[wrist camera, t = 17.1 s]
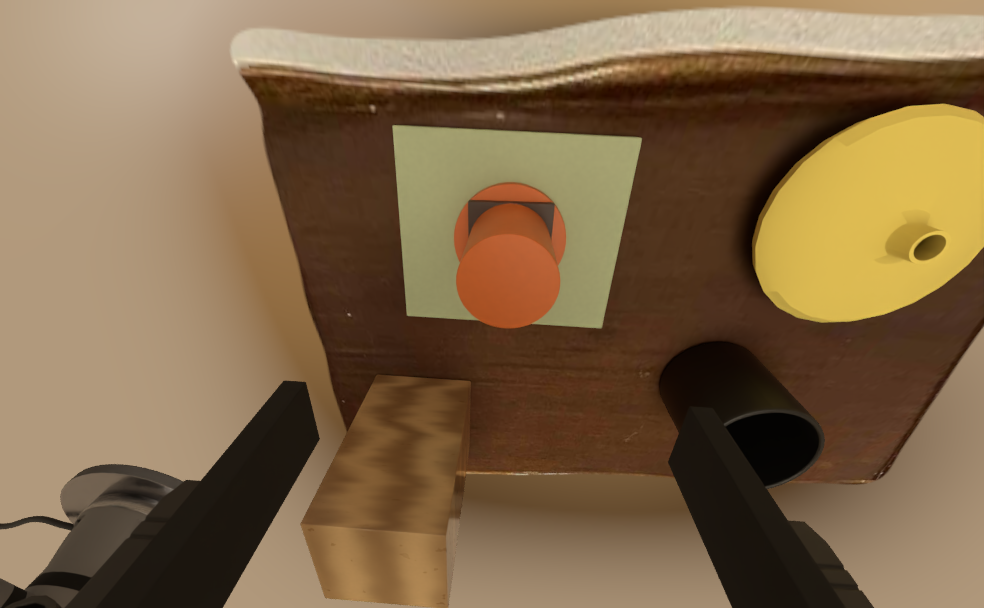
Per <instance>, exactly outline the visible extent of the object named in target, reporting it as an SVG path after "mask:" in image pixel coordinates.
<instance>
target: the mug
mask: <svg viewBox="0 0 984 608" xmlns="http://www.w3.org/2000/svg"><path fill="white" fill-rule="evenodd" d="M660 395H661V398H662V400H663V402H664V404H665V406H666V408H667V410H668V412H669V414H670V416H671V418H672V420H673V422H674V424H675V426H676V428H677V430H678V432H679V433H680V430H681V427H682V425H683V422H684V420H685V417H686V414H687V412H688V409H689V407H690V406H691V407H706V408H713V409H714V411H715V412H716V414H717V415H718V417H719V418H720V420H721V421H722V423H723V424H724V426H725V427H726V429H727V430H728V432H729V433H730V435H731V436H732V438H733V439H734V441H735V442H736V444H737V445H738V447H739V448H740V450H741V451H742V453H743V454H744V456H745V457H746V459H747V460H748V462H749V463H750V465H751V466H752V468H753V469H754V471H755V472H756V474H757V475H758V477H759V478H760V480H761V481H762V483H763V484H764V486H765V487H766V489H769V488H773V487H776V486H779V485H782V484H784V483H787V482H789V481H791V480H793V479H795V478H797V477H798V476H800V475H801V474H803V473H804V472H806V471H807V470H808V469H809V468H810V467H811V466H812V465H813V464H814V463H815V462H816V461H817V459H818V458H819V456H820V455H821V453H822V450H823V448H824V442H825V439H824V433H823V430H822V428H821V426H820V425H819V423H818V422H817V421H816V420H815V419H814V418H813V417H812V416H811V415H810V414H809V413H808V411H807V410H806V409H805V408H804V407H803V406H802V405H801V404H800V403H799V402H798V401H797V400H796V399H795V398H794V397H793V396H792V395H791V394H790V393H789V392H788V390H787V389H786V388H785V387H784V386H783V385H782V384H781V383H780V382H779V381H778V380H777V379H776V378H775V377H774V376H773V375H772V374H771V373H770V372H769V371H768V369H767V368H766V367H765V366H764V365H763V364H762V363H761V362H760V361H759V360H758V359H757V358H756V357H755V356H754V355H753V354H752V353H751V352H750V351H748V350H747V349H745V348H743V347H740V346H737V345H734V344H730V343H720V342H716V343H707V344H703V345H699V346H696V347H693V348H691V349H689V350H687V351H685V352H683V353H682V354H680V355H679V356H677V357H676V358H675V359H674V360H673V361H672V362H671V363H670V364H669V365H668V366H667V368H666V369H665V371H664V373H663V375H662V377H661V381H660Z"/></svg>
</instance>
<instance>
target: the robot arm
mask: <svg viewBox="0 0 984 608" xmlns="http://www.w3.org/2000/svg"><path fill="white" fill-rule="evenodd" d="M319 439H320V438H319V434H318V430H317V426H316V422H315V418H314V414H313V410H312V406H311V401H310V397H309V393H308V389H307V385H306V382H297V381H283V383H282V384H281V385H280V386H279V387H278V388H277V390H276V391H275V392H274V393H273V394H272V396H271V397H270V398H269V399H268V400H267V402H266V403H265V404H264V405H263V407H262V408H261V409H260V410H259V412H257V414H256V415H255V416H254V417H253V419H252V420H251V421H250V422H249V423H248V425H247V426H246V427H245V428H244V430H243V431H242V432H241V433H240V434H239V436H238V437H237V438H236V439H235V440H234V442H233V443H232V444H231V445H230V446H229V447H228V449H227V450H226V451H225V452H224V454H223V455H222V456H221V457H220V458H219V460H218V461H217V462H216V463H215V464H214V466H213V467H212V468H211V469H210V470H209V472H208V473H207V474H206V476H204V478H203V479H202V480H201V481H193V480H186V481H184V482H183V483H181V484H180V485H179V486H177V487H176V488H175V489H173V490H172V491H171V492H169V493H168V494H167V495H165V496H164V497H163V498H162V499H161V500H160V501H157V500H154V499H151V498H148V497H144V496H140V495H135V494H127V493H112V494H106V495H103V496H100V497H98V498H97V499H95V500H94V501H93V502H92V503H91V504H90V505H89V506H88V507H87V508H86V509H85V510H84V511H83V512H81V513H80V515H79V516H78V518H77V520H76V521H75V523H74V524H71V523H67V522H63V521H60V520H57V519H54V518H50V517H45V516H33V517H28V518H24V519H21V520H18V521H15V522H12V523H7V524H0V529H8V528H13V527H16V526H19V525H22V524H25V523H29V522H42V523H46V524H50V525H53V526H56V527H59V528H64V529H68V530H71V532H70V533H69V534H68V536H67V537H66V538H65V540H64V541H63V543H62V544H61V546H60V547H59V549H58V550H57V552H56V554H55V555H54V557H53V559H52V560H51V561H50V563H49V565H48V566H47V567H46V569H45V570H44V571H43V572H42V573H41V574H40V575H39V576H38V577H37V578H36V579H35V580H34V581H33V582H32V583H31V584H30V585H29V586H28V587H27V588H26V589H25V590H23V589H21V588H18V587H16V586H15V585H13V584H11V583H8V582H6V581H5V580H3V579H0V608H223V606H224V604H225V603H226V601H227V599H228V597H229V596H230V594H231V592H232V591H233V588H234V587H235V585H236V584H237V582H238V580H239V578H240V577H241V575H242V573H243V571H244V570H245V568H246V566H247V564H248V563H249V561H250V559H251V557H252V556H253V554H254V552H255V551H256V549H257V547H258V545H259V544H260V542H261V540H262V538H263V537H264V535H265V533H266V531H267V530H268V528H269V526H270V524H271V523H272V521H273V519H274V517H275V516H276V514H277V512H278V511H279V509H280V507H281V505H282V504H283V502H284V500H285V498H286V497H287V495H288V493H289V491H290V490H291V488H292V486H293V484H294V483H295V481H296V479H297V477H298V476H299V474H300V472H301V471H302V469H303V467H304V465H305V464H306V462H307V460H308V458H309V457H310V455H311V453H312V451H313V450H314V448H315V446H316V445H317V442H318V441H319ZM668 463H669V465H670V468H671V470H672V472H673V475H674V477H675V479H676V481H677V484H678V486H679V488H680V490H681V493H682V495H683V497H684V499H685V501H686V504H687V506H688V508H689V511H690V513H691V515H692V518H693V520H694V522H695V524H696V527H697V529H698V531H699V533H700V535H701V538H702V540H703V543H704V545H705V547H706V549H707V551H708V554H709V556H710V558H711V561H712V563H713V565H714V567H715V569H716V572H717V574H718V577H719V579H720V581H721V583H722V586H723V588H724V590H725V592H726V595H727V597H728V599H729V601H730V604H731V606H732V608H874V607H873V606H872V604H871V603H870V602H869V600H868V599H867V597H866V596H865V595H864V593H863V592H862V591H860V590H859V589H858V585H857V584H856V582H855V581H854V579H853V578H852V577H851V575H850V574H849V573H848V571H846V570H844V567H843V564H842V563H841V561H840V560H839V559H838V557H837V556H836V555H835V553H834V552H833V550H832V549H831V548H830V546H829V545H828V544H827V543H826V541H825V540H823V539H822V538H821V537H820V536H819V535H818V534H817V533H816V532H814V530H813V529H812V528H811V527H809V526H808V525H807V524H806V523H805V522H800V521H788V520H787V519H786V517H785V516H784V514H783V513H782V511H781V510H780V508H779V507H778V505H777V504H776V502H775V501H774V499H773V498H772V496H771V495H770V493H769V492H768V490H767V489H766V487H765V486H764V484H763V483H762V481H761V480H760V478H759V477H758V475H757V474H756V472H755V471H754V469H753V468H752V466H751V465H750V463H749V462H748V460H747V459H746V457H745V456H744V454H743V453H742V451H741V450H740V448H739V447H738V445H737V444H736V442H735V441H734V439H733V438H732V436H731V435H730V433H729V432H728V430H727V429H726V427H725V426H724V424H723V423H722V421H721V420H720V418H719V417H718V415H717V414H716V412H715V411H714V409H713V408H706V407H691V406H690V407H689V409H688V412H687V414H686V417H685V420H684V422H683V425H682V427H681V430H680V433H679V435H678V438H677V440H676V443H675V445H674V448H673V451H672V453H671V456H670V458H669V461H668Z"/></svg>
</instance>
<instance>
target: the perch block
mask: <svg viewBox="0 0 984 608" xmlns="http://www.w3.org/2000/svg"><path fill="white" fill-rule="evenodd" d="M470 399H471V381H464V380H449V379H435V378H420V377H406V376H391V375H376V377H375V379H374V381H373V383H372V385H371V387H370V389H369V391H368V393H367V395H366V397H365V399H364V401H363V403H362V405H361V406H360V408H359V410H358V412H357V414H356V416H355V418H354V420H353V422H352V424H351V426H350V428H349V430H348V432H347V434H346V436H345V438H344V440H343V442H342V444H341V446H340V448H339V450H338V452H337V454H336V456H335V458H334V459H333V462H332V463H331V465H330V467H329V469H328V471H327V473H326V475H325V477H324V479H323V481H322V483H321V485H320V487H319V489H318V491H317V493H316V495H315V497H314V498H313V500H312V502H311V505H310V506H309V508H308V510H307V512H306V514H305V516H304V518H303V520H302V522H301V527H302V530H303V533H304V536H305V539H306V542H307V545H308V548H309V551H310V554H311V557H312V560H313V563H314V566H315V569H316V572H317V575H318V578H319V581H320V584H321V587H322V590H323V593H324V596H325V598H330V599H341V600H353V601H364V602H377V603H388V604H399V605H410V606H422V607H434V608H448V605H449V598H450V590H451V583H452V576H453V567H454V560H455V553H456V546H457V538H458V530H459V523H460V515H461V507H462V500H463V492H464V485H465V478H466V470H467V463H468V455H469V448H470Z"/></svg>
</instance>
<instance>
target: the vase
mask: <svg viewBox="0 0 984 608" xmlns="http://www.w3.org/2000/svg"><path fill="white" fill-rule="evenodd" d="M983 247H984V117H983V116H981V115H980V114H979V113H977V112H976V111H973V110H969V109H965V108H960V107H956V106H952V105H948V104H933V105H919V106H907V107H904V108H901V109H898V110H895V111H891V112H888V113H885V114H882V115H879V116H875V117H872V118H869V119H866V120H863V121H861V122H858V123H855V124H854V125H852V126H850V127H848V128H846V129H844V130H843V131H841V132H839V133H837V134H835V135H833V136H832V137H830V138H828V139H826V140H824V141H823V142H822V143H820V144H819V145H818V146H817V147H815V148H814V149H813V150H812V151H811V152H809V153H808V154H807V155H806V156H804V157H803V158H802V159H801V160H799V161H798V162H797V163H796V164H795V165H794V166H793V167H792V168H791V170H790V171H789V172H788V173H787V174H786V175H785V177H784V178H783V179H782V180H781V181H780V183H779V184H778V185H777V186H776V187H775V188H774V190H773V191H772V193H771V195H770V197H769V199H768V201H767V202H766V204H765V206H764V208H763V210H762V211H761V213H760V215H759V218H758V222H757V225H756V229H755V233H754V236H753V240H752V258H753V266H754V269H755V271H756V274H757V277H758V279H759V282H760V284H761V287H762V289H763V292H764V293H765V294H766V295H767V296H768V297H769V298H770V299H771V300H772V302H773V303H774V304H775V305H776V306H777V307H778V308H780V309H782V310H784V311H786V312H788V313H790V314H791V315H793V316H795V317H797V318H802V319H807V320H812V321H817V322H849V321H855V320H860V319H865V318H869V317H874V316H878V315H883V314H886V313H889V312H891V311H894V310H896V309H899V308H901V307H904V306H906V305H909V304H911V303H914V302H916V301H917V300H919V299H921V298H922V297H924V296H926V295H927V294H929V293H931V292H933V291H934V290H936V289H938V288H939V287H941V286H943V285H944V284H945V283H946V282H947V281H949V280H950V279H951V278H952V277H954V276H955V275H956V274H957V273H958V272H960V271H961V270H962V269H963V268H965V267H966V266H967V265H968V264H969V263H970V262H971V261H972V259H973V258H974V257H975V256H976V255H977V254H978V253H979V252H980V250H981V249H982V248H983Z"/></svg>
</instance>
